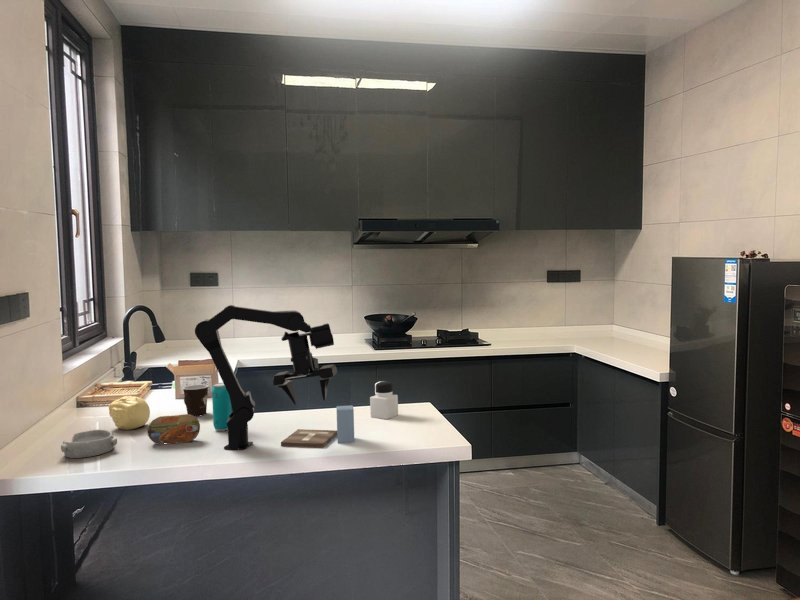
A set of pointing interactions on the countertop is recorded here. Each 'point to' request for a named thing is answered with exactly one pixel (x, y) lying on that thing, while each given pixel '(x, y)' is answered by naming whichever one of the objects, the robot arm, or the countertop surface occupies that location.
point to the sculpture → (129, 412)
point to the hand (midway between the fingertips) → (310, 402)
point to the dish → (89, 444)
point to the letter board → (309, 438)
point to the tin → (174, 429)
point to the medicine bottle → (383, 401)
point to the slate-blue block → (345, 424)
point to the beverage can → (220, 406)
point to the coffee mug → (196, 399)
